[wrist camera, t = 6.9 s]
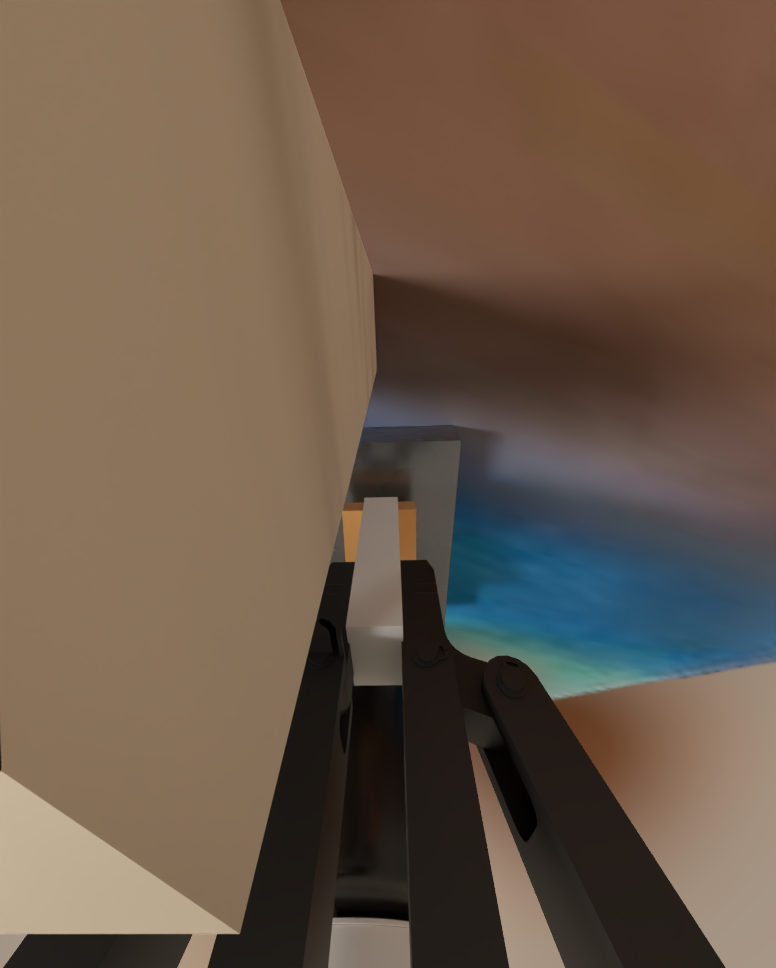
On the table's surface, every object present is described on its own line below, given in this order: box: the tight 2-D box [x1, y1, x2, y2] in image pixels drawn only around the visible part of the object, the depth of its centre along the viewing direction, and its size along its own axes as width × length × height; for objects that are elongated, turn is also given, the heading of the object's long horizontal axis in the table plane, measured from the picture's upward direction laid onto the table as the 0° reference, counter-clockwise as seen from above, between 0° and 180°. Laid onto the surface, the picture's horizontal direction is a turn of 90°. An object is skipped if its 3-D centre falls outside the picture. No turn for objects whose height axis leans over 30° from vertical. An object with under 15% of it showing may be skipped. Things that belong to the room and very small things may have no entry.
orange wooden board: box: [342, 501, 416, 562], centre depth 16 cm, size 3×9×1 cm, turn 2°
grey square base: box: [329, 425, 461, 625], centre depth 19 cm, size 15×14×4 cm
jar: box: [328, 681, 410, 968], centre depth 20 cm, size 12×12×15 cm
